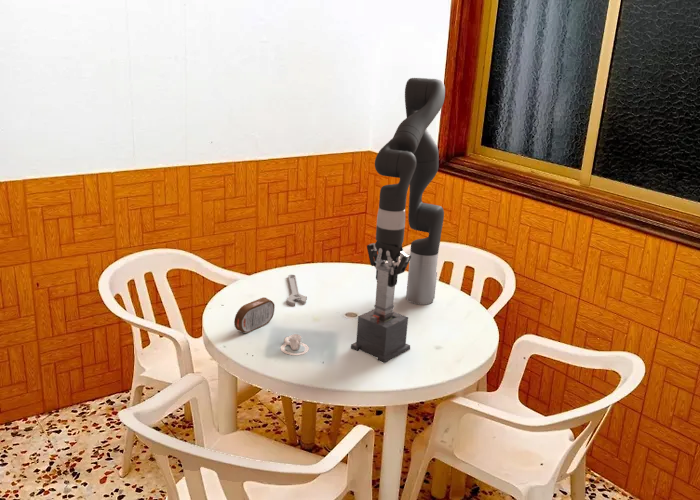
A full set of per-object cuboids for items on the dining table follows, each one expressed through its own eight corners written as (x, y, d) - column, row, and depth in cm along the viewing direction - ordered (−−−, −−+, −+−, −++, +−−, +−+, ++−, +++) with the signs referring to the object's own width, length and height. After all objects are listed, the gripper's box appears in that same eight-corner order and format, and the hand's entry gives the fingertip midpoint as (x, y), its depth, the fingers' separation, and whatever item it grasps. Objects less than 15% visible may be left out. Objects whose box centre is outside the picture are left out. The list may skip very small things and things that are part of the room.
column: (381, 324, 191) (386, 262, 185) (391, 329, 189) (397, 266, 183) (372, 328, 188) (377, 265, 182) (383, 333, 186) (388, 269, 180)
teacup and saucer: (282, 341, 193) (283, 328, 191) (310, 343, 193) (311, 330, 191) (278, 355, 184) (279, 342, 183) (307, 357, 184) (308, 344, 183)
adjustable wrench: (287, 278, 239) (287, 273, 238) (305, 279, 239) (305, 274, 239) (286, 306, 215) (286, 301, 214) (306, 307, 216) (307, 302, 215)
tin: (268, 318, 205) (269, 293, 203) (276, 321, 204) (276, 296, 201) (233, 334, 194) (233, 308, 191) (241, 338, 192) (241, 311, 189)
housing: (377, 335, 199) (379, 300, 195) (410, 349, 192) (413, 313, 188) (350, 348, 190) (353, 312, 186) (384, 363, 183) (387, 326, 179)
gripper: (420, 228, 177) (414, 288, 183) (378, 215, 186) (374, 273, 191) (403, 233, 172) (398, 295, 177) (361, 220, 180) (357, 280, 186)
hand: (385, 283), depth 184 cm, fingers closed on column, 3 cm apart
